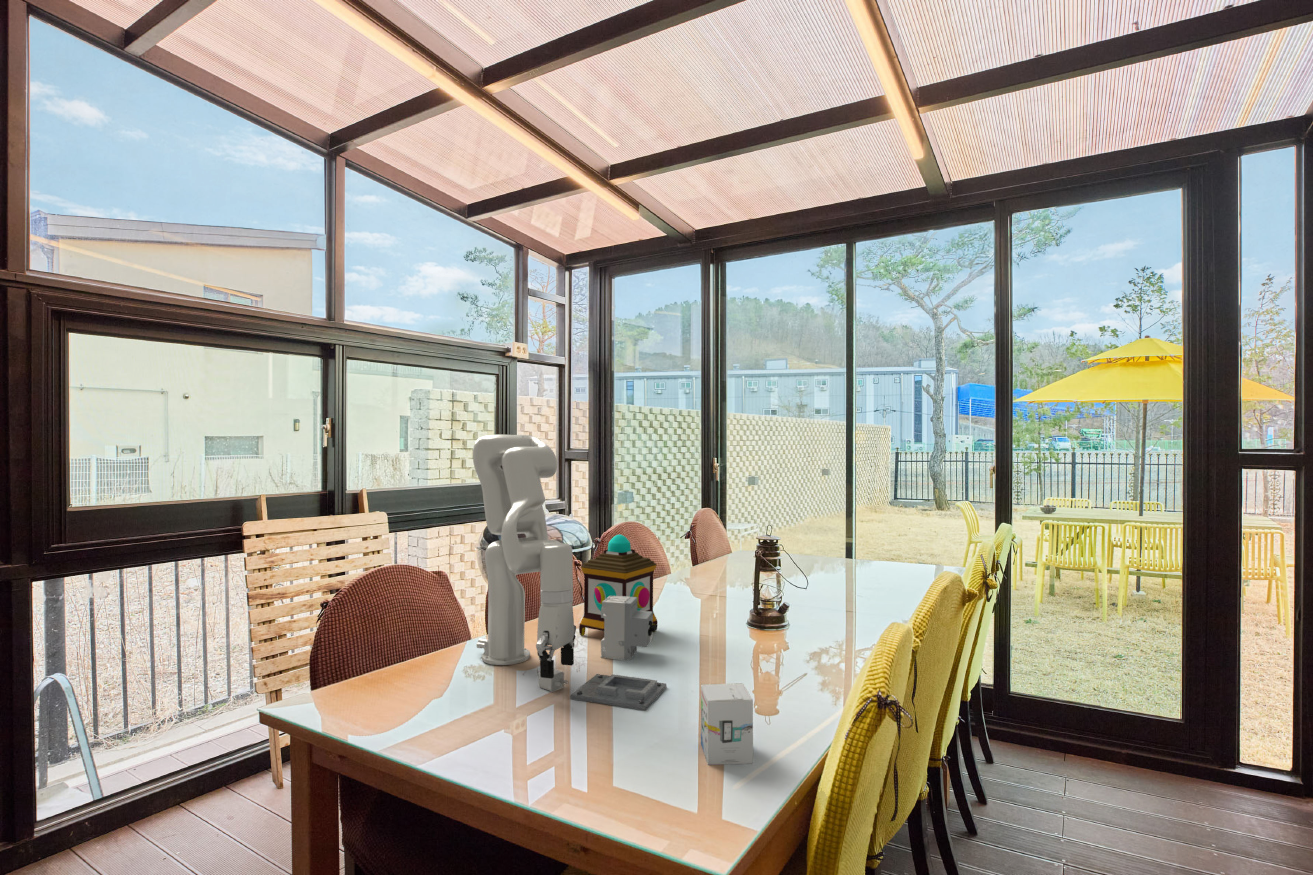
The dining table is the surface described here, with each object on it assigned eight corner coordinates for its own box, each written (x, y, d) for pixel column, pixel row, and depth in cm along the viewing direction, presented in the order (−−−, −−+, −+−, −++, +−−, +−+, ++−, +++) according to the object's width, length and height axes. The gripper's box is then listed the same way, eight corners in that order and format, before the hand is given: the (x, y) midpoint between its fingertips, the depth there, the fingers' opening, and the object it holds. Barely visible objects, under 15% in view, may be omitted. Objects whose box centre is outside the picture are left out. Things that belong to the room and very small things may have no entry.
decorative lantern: (664, 630, 202) (664, 533, 202) (627, 647, 185) (627, 541, 185) (611, 621, 212) (612, 528, 213) (572, 635, 196) (572, 535, 196)
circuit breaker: (652, 661, 173) (653, 604, 173) (600, 657, 176) (601, 601, 176) (658, 652, 180) (658, 598, 180) (608, 649, 183) (608, 595, 183)
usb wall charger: (551, 683, 157) (551, 666, 157) (571, 690, 152) (571, 673, 153) (538, 688, 154) (538, 670, 154) (558, 695, 149) (558, 677, 149)
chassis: (570, 698, 147) (570, 687, 147) (596, 677, 160) (597, 667, 160) (645, 710, 141) (645, 698, 141) (666, 687, 154) (666, 677, 154)
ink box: (699, 743, 126) (700, 682, 126) (743, 742, 126) (743, 681, 126) (707, 765, 117) (707, 700, 117) (753, 763, 118) (754, 698, 118)
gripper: (560, 589, 162) (560, 659, 162) (523, 603, 146) (523, 681, 145) (587, 590, 160) (588, 661, 159) (552, 605, 144) (553, 684, 143)
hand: (557, 670), depth 152 cm, fingers open, 9 cm apart
